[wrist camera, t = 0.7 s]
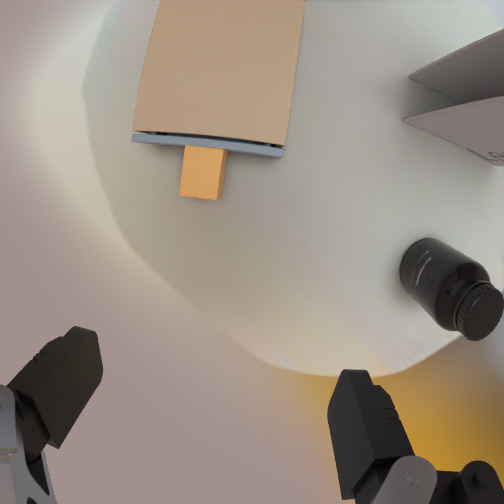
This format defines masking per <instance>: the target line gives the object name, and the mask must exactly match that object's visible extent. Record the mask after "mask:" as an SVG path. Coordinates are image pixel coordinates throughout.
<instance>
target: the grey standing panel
mask: <svg viewBox="0 0 504 504" xmlns="http://www.w3.org/2000/svg"><path fill="white" fill-rule="evenodd" d="M409 78H411V79H413V80H415V81H418V82H420V83H422V84H424V85H426V86H429V87H431V88H433V89H435V90H437V91H439V92H441V93H443V94H445V95H447V96H449V97H451V98H453V99H455V100H457V101H459V102H460V103H462V104H461V105H456V106H452V107H448V108H443V109H439V110H435V111H431V112H427V113H424V114H420V115H416V116H412V117H409V118H405V119H403V122H405V123H407V124H410V125H412V126H415V127H417V128H420V129H422V130H424V131H427V132H429V133H431V134H434V135H436V136H438V137H441V138H443V139H445V140H447V141H449V142H451V143H454V144H456V145H458V146H460V147H462V148H464V149H466V150H468V151H470V152H472V153H474V154H476V155H477V156H479V157H481V158H483V159H485V160H487V161H489V162H490V163H492V164H494V165H497V166H504V29H502V30H500V31H498V32H495V33H493V34H491V35H489V36H486V37H484V38H482V39H480V40H478V41H476V42H473V43H471V44H469V45H467V46H465V47H463V48H461V49H459V50H457V51H455V52H453V53H451V54H449V55H447V56H445V57H443V58H441V59H439V60H437V61H435V62H433V63H431V64H429V65H427V66H425V67H424V68H422V69H420V70H418V71H416V72H414V73H412V74H411V75H409Z"/></svg>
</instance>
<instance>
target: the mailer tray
mask: <svg viewBox="0 0 504 504" xmlns="http://www.w3.org/2000/svg"><path fill="white" fill-rule="evenodd" d="M132 142H139V143H146V144H153V145H167V146H179V147H185V151H184V159H183V166H182V175H181V183H180V192H179V195H180V196H188V197H196V198H204V199H211V200H217V199H219V198H220V197H221V196H222V190H223V183H224V175H225V168H226V161H227V154H228V152H236V153H244V154H251V155H258V156H265V157H272V158H278V159H280V158H282V157H283V153H284V149H279V148H273V147H271V144H270V143H264V142H257V141H250V140H242V139H234V138H225V137H216V136H206V135H195V134H183V133H168V132H150V135H142V134H133V135H132Z"/></svg>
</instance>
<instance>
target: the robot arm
mask: <svg viewBox="0 0 504 504" xmlns="http://www.w3.org/2000/svg"><path fill="white" fill-rule="evenodd" d="M102 375H103V365H102V360H101V354H100V349H99V343H98V337H97V334H96V332H95V331H92V330H88V329H85V328H81V327H78V326H74V327H72V328H71V329H70V330H69V331H68V332H67V333H66V334H65V335H64V336H63V337H61V336H60V337H58V338H56V339H54V340H52V341H50V342H48V343H47V344H46V345H45V346H44V347H43V348H42V349H41V350H40V352H39V353H37V354H36V355H35V356H34V357H33V360H30V361H29V363H27V365H26V366H25V367H24V368H23V369H22V370H21V371H20V372H19V373H18V374H17V375H16V376H15V377H14V379H12V381H11V382H10V383H9V384H8V385H7V386H4V385H0V504H58V503H57V501H56V499H55V495H54V491H53V488H52V484H51V479H50V475H49V471H48V466H47V462H46V457H45V452H44V450H43V448H44V447H45V445H46V444H49V445H51V446H53V447H55V448H57V449H59V448H60V446H61V444H62V443H63V441H64V439H65V438H66V436H67V435H68V433H69V431H70V430H71V428H72V426H73V425H74V423H75V421H76V420H77V418H78V417H79V415H80V413H81V412H82V410H83V409H84V407H85V406H86V404H87V402H88V401H89V399H90V398H91V396H92V395H93V393H94V391H95V390H96V388H97V387H98V385H99V384H100V382H101V379H102ZM327 417H328V424H329V429H330V434H331V440H332V445H333V450H334V456H335V461H336V467H337V472H338V478H339V484H340V490H341V496H342V500H348V499H355V503H356V504H504V489H503V487H502V485H501V482H500V480H499V478H498V475H497V473H496V471H495V470H494V468H493V467H492V466H491V465H489V464H488V463H486V462H484V461H472V462H470V463H468V464H467V465H466V466H465V467H464V468H463V469H462V470H461V471H460V472H452V471H437V470H435V468H434V466H433V465H432V464H431V463H430V462H429V461H427V460H426V459H424V458H422V457H419V456H415V454H414V452H413V449H412V447H411V444H410V442H409V439H408V437H407V434H406V432H405V430H404V427H403V425H402V423H401V420H400V419H399V415H398V413H397V411H396V410H395V406H394V404H393V402H392V399H391V397H390V395H389V394H388V393H387V392H386V391H385V390H384V389H383V388H382V387H381V386H380V385H373V383H372V380H371V378H370V376H369V373H368V371H367V370H349V369H344V370H343V371H342V372H341V374H340V376H339V379H338V382H337V384H336V387H335V390H334V392H333V395H332V397H331V400H330V402H329V406H328V414H327Z"/></svg>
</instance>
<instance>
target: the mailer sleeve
mask: <svg viewBox="0 0 504 504" xmlns="http://www.w3.org/2000/svg"><path fill="white" fill-rule="evenodd" d="M304 6H305V0H161V2H160V5H159V9H158V12H157V15H156V19H155V22H154V26H153V30H152V33H151V37H150V41H149V45H148V49H147V53H146V58H145V62H144V67H143V71H142V76H141V81H140V86H139V91H138V97H137V102H136V108H135V114H134V121H133V127H132V130H133V131H137V132H142V133H146V134H150V132H168V133H183V134H195V135H206V136H216V137H225V138H234V139H242V140H250V141H257V142H264V143H270V144H271V147H273V148H279V149H281V148H282V147H284V146H285V141H286V135H287V128H288V121H289V115H290V108H291V101H292V94H293V87H294V80H295V73H296V66H297V59H298V51H299V44H300V37H301V29H302V22H303V14H304Z"/></svg>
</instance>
